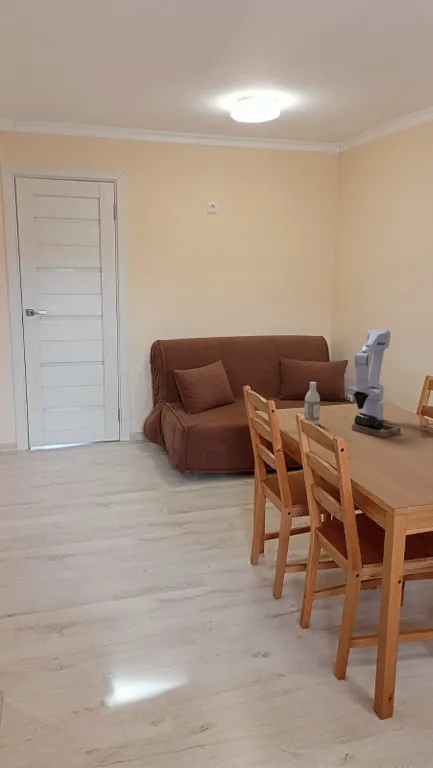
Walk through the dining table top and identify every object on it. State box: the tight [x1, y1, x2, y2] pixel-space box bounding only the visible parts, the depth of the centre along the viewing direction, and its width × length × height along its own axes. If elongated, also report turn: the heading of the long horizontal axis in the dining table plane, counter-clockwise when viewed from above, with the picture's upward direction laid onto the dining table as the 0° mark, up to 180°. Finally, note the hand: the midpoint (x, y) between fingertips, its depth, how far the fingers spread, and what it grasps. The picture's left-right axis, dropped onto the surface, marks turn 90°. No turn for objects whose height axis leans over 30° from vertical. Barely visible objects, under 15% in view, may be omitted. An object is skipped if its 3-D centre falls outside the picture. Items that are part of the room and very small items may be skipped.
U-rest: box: [351, 423, 401, 439], centre depth 262 cm, size 13×16×2 cm
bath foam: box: [303, 381, 321, 426], centre depth 273 cm, size 7×7×20 cm
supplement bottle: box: [353, 412, 384, 430], centre depth 264 cm, size 7×7×12 cm
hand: (360, 408), depth 268 cm, fingers closed
